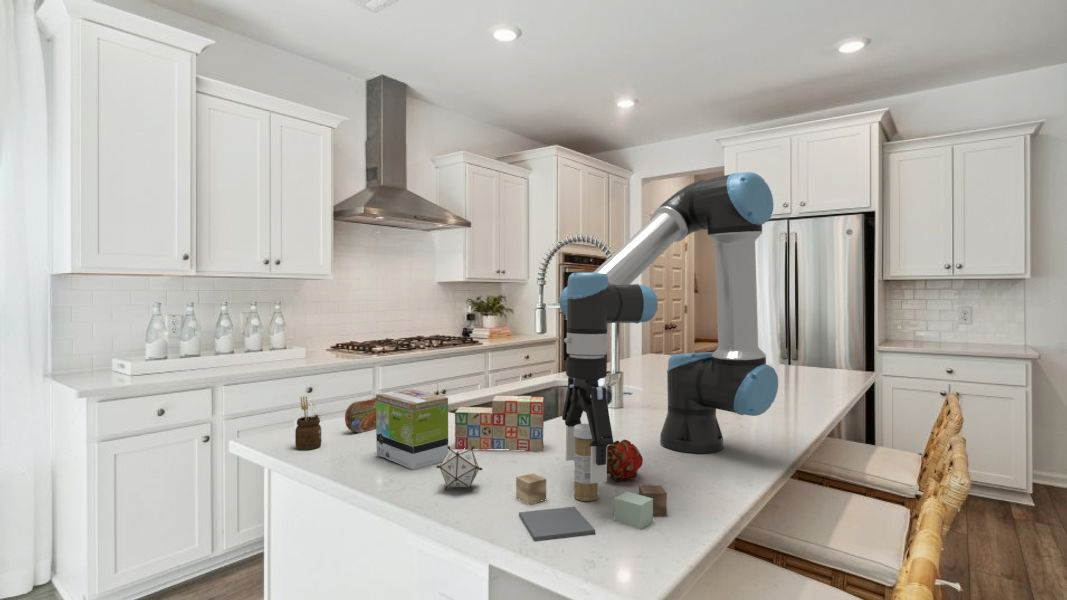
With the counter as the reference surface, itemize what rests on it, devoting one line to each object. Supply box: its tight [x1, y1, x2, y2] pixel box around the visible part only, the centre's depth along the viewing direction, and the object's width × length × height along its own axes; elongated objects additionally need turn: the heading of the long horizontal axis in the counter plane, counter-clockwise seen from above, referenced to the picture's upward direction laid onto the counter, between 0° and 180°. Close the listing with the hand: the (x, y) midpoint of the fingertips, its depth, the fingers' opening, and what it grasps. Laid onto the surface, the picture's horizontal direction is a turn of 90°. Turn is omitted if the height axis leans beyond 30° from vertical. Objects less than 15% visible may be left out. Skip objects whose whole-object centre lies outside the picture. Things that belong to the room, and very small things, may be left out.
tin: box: [344, 397, 376, 434], centre depth 156 cm, size 15×3×8 cm, turn 147°
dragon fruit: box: [607, 439, 644, 482], centre depth 116 cm, size 8×8×12 cm
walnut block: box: [638, 484, 668, 517], centre depth 99 cm, size 4×4×4 cm
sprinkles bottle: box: [573, 423, 599, 502], centre depth 105 cm, size 5×5×14 cm
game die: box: [435, 445, 483, 492], centre depth 110 cm, size 9×8×10 cm
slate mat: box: [518, 506, 596, 542], centre depth 93 cm, size 10×10×1 cm
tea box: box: [375, 388, 449, 471], centre depth 129 cm, size 15×10×15 cm, turn 47°
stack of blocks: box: [454, 395, 545, 452], centre depth 139 cm, size 21×6×12 cm, turn 86°
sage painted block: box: [613, 491, 654, 530], centre depth 94 cm, size 4×5×4 cm
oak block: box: [515, 472, 547, 505], centre depth 104 cm, size 4×4×4 cm
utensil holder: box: [294, 396, 322, 451], centre depth 138 cm, size 6×6×12 cm
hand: (584, 470), depth 105 cm, fingers open, 13 cm apart
